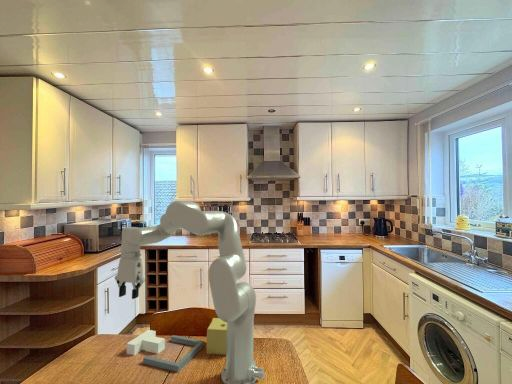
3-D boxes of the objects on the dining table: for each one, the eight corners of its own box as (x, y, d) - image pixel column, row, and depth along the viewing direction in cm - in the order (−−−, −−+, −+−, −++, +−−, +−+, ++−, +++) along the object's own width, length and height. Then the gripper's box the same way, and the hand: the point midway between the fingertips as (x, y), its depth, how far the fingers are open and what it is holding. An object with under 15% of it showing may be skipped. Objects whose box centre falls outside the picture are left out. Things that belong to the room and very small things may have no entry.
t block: (170, 343, 107) (171, 334, 107) (150, 359, 96) (151, 348, 96) (148, 338, 111) (148, 329, 111) (126, 353, 99) (126, 343, 100)
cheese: (235, 342, 109) (235, 318, 110) (230, 356, 98) (230, 330, 99) (212, 340, 110) (212, 317, 111) (205, 354, 99) (205, 329, 100)
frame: (203, 345, 105) (204, 341, 106) (178, 372, 88) (178, 366, 88) (173, 339, 110) (173, 335, 110) (143, 363, 93) (143, 357, 93)
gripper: (152, 255, 110) (151, 296, 109) (122, 252, 116) (120, 292, 115) (139, 258, 103) (138, 302, 102) (108, 255, 109) (106, 297, 107)
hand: (128, 296), depth 108 cm, fingers open, 6 cm apart
